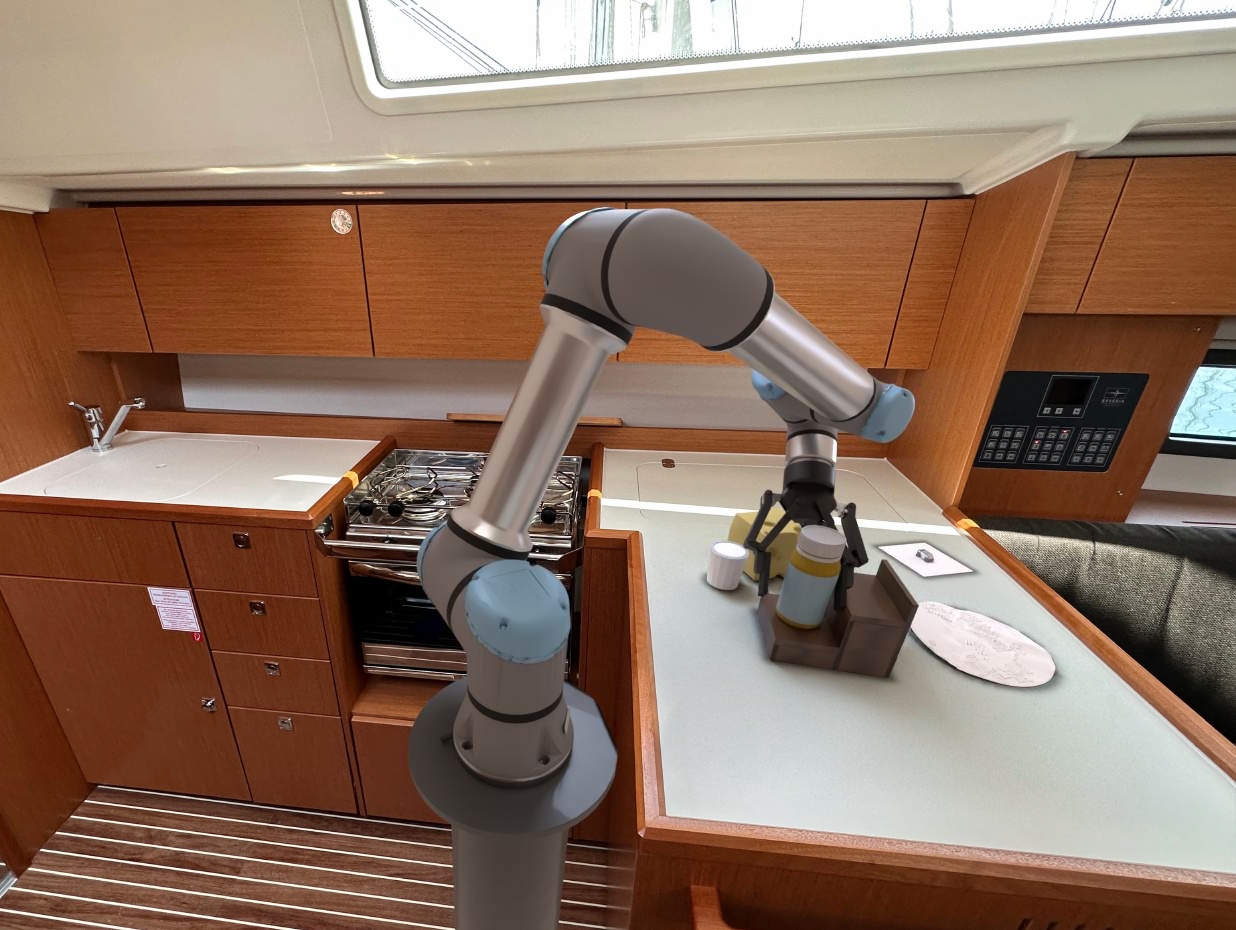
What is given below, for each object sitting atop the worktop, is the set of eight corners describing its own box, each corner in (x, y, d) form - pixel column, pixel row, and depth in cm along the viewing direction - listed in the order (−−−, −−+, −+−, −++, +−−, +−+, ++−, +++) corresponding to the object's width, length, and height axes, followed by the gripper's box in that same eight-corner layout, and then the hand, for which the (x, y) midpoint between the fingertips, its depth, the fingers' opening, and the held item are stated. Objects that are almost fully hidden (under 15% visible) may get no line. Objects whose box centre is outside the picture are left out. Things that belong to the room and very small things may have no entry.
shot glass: (697, 582, 109) (703, 549, 105) (712, 568, 113) (719, 536, 110) (732, 596, 105) (740, 562, 102) (747, 581, 109) (755, 548, 106)
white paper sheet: (923, 576, 113) (926, 570, 113) (877, 546, 124) (880, 540, 123) (973, 571, 116) (976, 564, 115) (924, 542, 126) (927, 536, 126)
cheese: (801, 577, 112) (814, 530, 107) (751, 582, 109) (763, 535, 104) (768, 550, 120) (779, 506, 116) (722, 555, 118) (731, 510, 113)
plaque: (878, 611, 101) (881, 604, 101) (972, 603, 106) (975, 596, 105) (978, 694, 84) (982, 686, 84) (1086, 680, 88) (1091, 672, 88)
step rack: (769, 659, 89) (790, 588, 83) (757, 611, 101) (774, 545, 95) (889, 677, 87) (919, 605, 81) (862, 626, 98) (887, 559, 92)
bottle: (777, 600, 97) (800, 520, 90) (823, 613, 94) (850, 531, 87) (772, 622, 91) (796, 538, 84) (820, 636, 88) (849, 550, 82)
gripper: (873, 488, 96) (870, 620, 89) (731, 467, 99) (717, 593, 93) (897, 469, 89) (895, 611, 82) (742, 447, 92) (728, 582, 86)
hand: (800, 601), depth 88 cm, fingers open, 10 cm apart
